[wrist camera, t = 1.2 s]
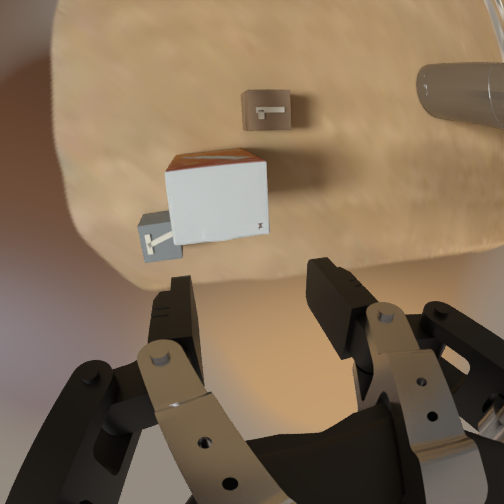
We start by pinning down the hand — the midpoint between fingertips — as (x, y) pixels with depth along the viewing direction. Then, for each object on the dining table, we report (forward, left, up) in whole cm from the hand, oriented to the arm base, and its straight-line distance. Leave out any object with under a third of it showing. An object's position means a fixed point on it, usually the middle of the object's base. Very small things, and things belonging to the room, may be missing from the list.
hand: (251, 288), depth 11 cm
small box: (0, 0, -26) cm, 26 cm away
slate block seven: (+7, +6, -25) cm, 27 cm away
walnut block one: (-6, -8, -25) cm, 27 cm away
